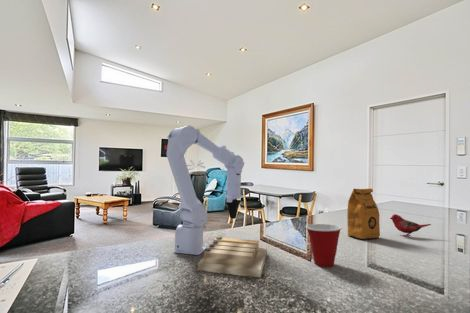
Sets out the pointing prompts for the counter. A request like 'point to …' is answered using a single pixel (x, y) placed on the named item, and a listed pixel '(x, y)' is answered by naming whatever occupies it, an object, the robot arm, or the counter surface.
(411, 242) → the counter surface
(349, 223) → the coffee package
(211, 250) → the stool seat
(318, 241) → the plastic cup
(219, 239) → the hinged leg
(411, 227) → the decorative bird figurine
